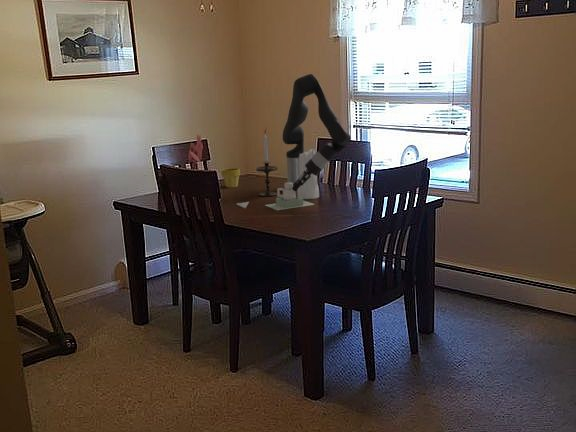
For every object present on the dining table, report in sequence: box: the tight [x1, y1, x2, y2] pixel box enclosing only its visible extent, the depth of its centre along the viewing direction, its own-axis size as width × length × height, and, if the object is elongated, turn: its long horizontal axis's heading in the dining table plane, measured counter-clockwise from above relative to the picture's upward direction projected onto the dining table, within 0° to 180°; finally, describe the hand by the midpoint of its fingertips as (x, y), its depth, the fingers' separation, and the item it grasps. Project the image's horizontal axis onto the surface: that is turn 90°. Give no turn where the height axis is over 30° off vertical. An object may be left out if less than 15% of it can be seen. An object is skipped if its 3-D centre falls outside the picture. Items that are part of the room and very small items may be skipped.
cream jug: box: [276, 181, 297, 201], centre depth 323 cm, size 9×6×10 cm
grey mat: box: [236, 201, 250, 209], centre depth 331 cm, size 13×11×1 cm
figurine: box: [187, 133, 204, 171], centre depth 331 cm, size 15×26×35 cm, turn 13°
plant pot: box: [220, 167, 241, 188], centre depth 381 cm, size 10×10×10 cm
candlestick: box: [256, 128, 278, 198], centre depth 349 cm, size 11×11×35 cm
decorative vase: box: [296, 148, 320, 200], centre depth 338 cm, size 11×11×25 cm
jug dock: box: [264, 196, 316, 211], centre depth 324 cm, size 20×14×4 cm
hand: (293, 188), depth 323 cm, fingers open, 8 cm apart
